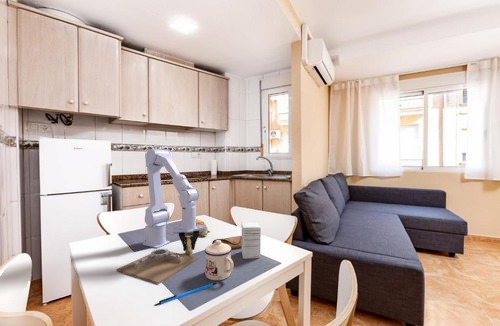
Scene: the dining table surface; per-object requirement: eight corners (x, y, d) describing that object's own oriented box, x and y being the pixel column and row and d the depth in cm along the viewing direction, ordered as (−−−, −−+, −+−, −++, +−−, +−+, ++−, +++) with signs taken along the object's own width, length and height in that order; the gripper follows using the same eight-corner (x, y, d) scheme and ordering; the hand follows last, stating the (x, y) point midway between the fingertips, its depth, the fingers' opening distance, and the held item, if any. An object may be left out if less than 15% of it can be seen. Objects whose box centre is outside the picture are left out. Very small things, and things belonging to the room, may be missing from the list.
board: (116, 270, 81) (116, 269, 81) (160, 250, 99) (160, 249, 99) (158, 284, 73) (158, 282, 73) (197, 259, 91) (197, 257, 91)
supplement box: (241, 251, 99) (241, 222, 99) (258, 250, 99) (258, 221, 99) (242, 259, 91) (242, 227, 91) (260, 258, 92) (260, 227, 92)
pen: (154, 305, 62) (154, 301, 62) (216, 283, 74) (216, 280, 74) (155, 307, 62) (155, 303, 62) (218, 284, 73) (218, 281, 73)
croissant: (210, 243, 118) (217, 228, 120) (195, 237, 113) (202, 222, 115) (193, 231, 135) (199, 218, 137) (178, 226, 129) (184, 213, 131)
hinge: (129, 267, 83) (129, 261, 83) (160, 252, 95) (160, 247, 95) (158, 275, 77) (158, 269, 77) (187, 259, 89) (187, 253, 89)
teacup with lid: (199, 274, 79) (199, 240, 79) (219, 265, 86) (220, 234, 85) (221, 288, 71) (221, 250, 70) (242, 277, 77) (242, 242, 77)
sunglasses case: (218, 253, 96) (215, 237, 99) (213, 256, 102) (210, 241, 104) (255, 245, 105) (251, 231, 108) (248, 249, 111) (245, 235, 113)
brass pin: (183, 254, 96) (183, 237, 96) (188, 251, 98) (188, 235, 98) (189, 255, 94) (189, 238, 94) (193, 252, 97) (194, 236, 97)
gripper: (170, 221, 90) (170, 255, 90) (207, 218, 95) (207, 250, 95) (170, 217, 97) (170, 249, 97) (205, 214, 102) (205, 244, 102)
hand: (188, 249), depth 96 cm, fingers closed on brass pin, 3 cm apart
